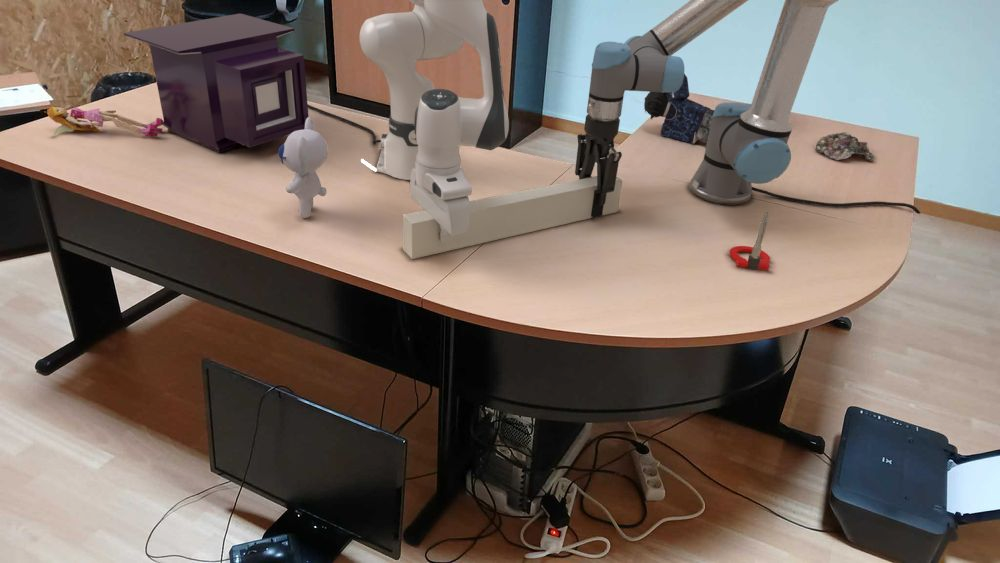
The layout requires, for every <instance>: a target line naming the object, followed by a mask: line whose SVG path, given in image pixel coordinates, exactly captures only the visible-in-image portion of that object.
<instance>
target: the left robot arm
mask: <svg viewBox="0 0 1000 563" xmlns="http://www.w3.org/2000/svg"><path fill="white" fill-rule="evenodd" d="M407 1H408V2H410V3H412V4H414V7H413V10H412V11H404V12H403V11H402V12H391V13H383V14H379V15H376V16H372V17H369V18H367V19H365V20H364V22H363V23H362V25H361V27H360V30H359V35H358V37H359V38H358V39H359V45H360V48H361V51H362V53H363V54H364V56H365V57H366V58H367V59H368V60H369V61H370V62H371V63H373V64H374V65H375V66H377V67H378V68H379V69H380V71H381V72H382V73H383V75H384V76H385V80H386V82H387V85H388V91H389V92H388V93H389V101H390V102H389V103H390V104H389V105H390V115H389V117H388V130H389V131H388V133H382V134H381V137H380V139H377V138H376V134H375V132H374V131H373V130H372V129H370V128H368V127H366V126H365V125H361V124H359V123H357V122H354V121H352V120H349V119H347V118H344V117H342V116H339V115H336V114H334V113H331V112H328V111H325V110H323V109H320V108H318V107H315V106H312V105H310V104H308V109H311V110H314V111H317V112H320V113H321V114H325V115H327V116H329V117H332V118H335V119H338V120H341V121H343V122H346V123H348V124H351V125H353V126H356V127H357V128H360V129H363V130H365V131H367V132H369V133H370V134H371V135H372V144H373V145H376V143H380V148H381V151H380V155H379V157H378V160H377V164H376V167H375V166H373V165H372V164H371V163H369V162H367V161H366V160H364V158H361V159H360V162H361V163H362V164H364V165H365V166H366V167H368V168H369V169H370V170H372V171H374V172H378V173H381V174H384V175H385V174H386V175H388V176H391V177H392V178H396V179H399V180H405V181H410V182H409V194H410V197H411V199H412V200H413V201H414V202H415V203H416V204H417V205H418V206H419V207H420V208H421V209H422V211H423V210H426V211H427V212H428V213H429V214H430V215H431V216H432V217H433V218H434V219H435V221H436V222H437V223H439V224H440V228H441V232H439V233H438V239H439V240H440V241H441V242H442V243H444V242H448V241H449V234H450V235H452V236H454V235H459V234H463V233H465V232H466V231H467V230H468V227H469V218H470V201H471V200H470V199H469V196H471V195H472V192H473V187H472V184H471V183H470V181H469V180H468V178H467V176H466V175H465V172H464V170H463V168H462V166H461V165H462V158H461V154H460V147H471V148H475V149H480V150H485V151H494V150H495V149H496V148H498V147H501V145H502V144H504V143H505V142H506V141H507V138H508V134H509V130H510V122H509V121H510V120H509V114H508V110H507V106H506V101H505V91H504V83H503V82H504V81H503V70H502V62H501V61H502V60H501V59H502V58H501V50H500V42H499V32H498V27H497V22H496V19H495V18H494V16H493V15H492V14H490V13H489V12H488V11H487V10H486V7H485V6H484V5H485V4H484V2H483V0H407ZM464 42H466V43H468V44H469V45H470V46H472V47H473V49H475V51H476V52H477V54H478V57H479V62H480V68H481V77H482V78H481V79H482V88H483V96H482V97H480V98H473V97H471V98H470V97H459V96H458V94H456V93H455V92H454V91H452V90H449V89H446V88H436V87H435V84H434V82H433V81H432V80H431V79H429V78H428V77H427V76H424V75H423V74H420V73H418V72H417V66H416V65H417V62H419V61H420V62H421V61H428V60H429V61H430V60H439V59H443V58H446V57H449V56H451V55H454V54H457V53H459V52H460V51H461V49H462V47H463V44H464Z"/></svg>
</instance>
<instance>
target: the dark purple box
mask: <svg viewBox="0 0 1000 563" xmlns="http://www.w3.org/2000/svg"><path fill="white" fill-rule="evenodd" d="M294 31H295V28H294V27H292V26H287V25H283V24H279V23H276V22H272V21H269V20H264V19H262V18H259V17H256V16H255V17H254V16H252V15H247V14H244V13H235V14H230V15H224V16H217V17H212V18H205V19H200V20H194V21H188V22H181V23H175V24H169V25H163V26H157V27H151V28H146V29H145V28H144V29H139V30H134V31H128V32H123V36H125V37H127V38H130V39H133V40H136V41H138V42H142V43H145V44H148V45H149V50H150V54H151V60H152V66H153V71H154V75H155V76H154V77H155V82H156V87H157V92H158V97H159V102H160V107H161V113H162V118H163V119H162V120H163V125H162V126H163V127H165V128H166V129H167V131H168V132H170V133H172V134H175V135H177V136H179V137H182V138H184V139H187V140H189V141H191V142H193V143H196V144H197V145H200V146H203V147H205V148H207V149H209V150H212V151H215V152H217V153H219V154H220V153H224V152H227V151H229V150H233V149H235V148H237V144H240V145H242V146H245V147H247V148H249V149H250V148H253V147H256V146H259V145H262V144H266V143H269V142H271V141H275V140H278V139H281V138H285V137H288V136H289V135H290V134H291V133H292V132H294V131H298V130H304V129H305V121H306V119H307V118H308V117H310V116H309V107H308V105H309V104H308V94H307V93H308V92H307V80H306V79H307V78H306V68H305V56H304V54H303V53H302V54H301V53H297V52H296V51H295V52H294V51H291V50H288V49H285V48H282V47H279V44H278V40H277V38H280V37H282V36H286V35H287V34H291V33H292V32H294Z"/></svg>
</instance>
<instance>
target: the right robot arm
mask: <svg viewBox="0 0 1000 563" xmlns="http://www.w3.org/2000/svg"><path fill="white" fill-rule="evenodd" d="M748 1H749V0H689V1H688V2H686V3H684V4H683V5H682V6H681V7H680V8H678V9H677V10H676V11H674V12H672V14H670V15H669V16H667V17H666V18H665V19H663V20H662V21H660V22H659V23H658V24H656V25H655V26H654V27H652V28H651V29H650V30H648V31H647V32H646V33H644V34H643V35H634V36H631V37H629V38H627V39H626V41H625V42H624V43H623V42H617V41H602V42H599V43H598V44H597V45H596V46H595V48H594V53H593V58H592V63H591V75H590V83H589V91H588V100H587V106H586V116H585V119H584V120H585V121H584V132H585V133H580V134H577V151H576V161H575V169H574V174H575V176H578V180H580V179H585V178H590V177H593V176H592V174H593V171H594V169H595V164H596V176H597V190H595V191H594V198H593V205H592V212H591V217H594V218H598V217H602V216H603V215H602V213H603V206H604V204H605V201H606V194H607V193H609V192H613V191H614V188H615V182H616V177H618V176H617V175H618V168H619V163H620V161H621V158H622V157H623V156H622V155H623V153H622V152H621V151H617V150H616V149H615V140H614V139H615V138H616V137H617V136H618V134H619V128H620V122H621V120H620V117H621V116H622V110H623V104H624V98H625V92H626V91H629V92H646V93H647V92H648V93H649V92H662V93H664V92H676V91H678V90H679V89H680V87H681V85H682V83H683V79H684V73H685V63H684V60H683V58H682V57H680V56H676V55H674V54H675V53H677V52H679V51H680V50H681V49H683V48H684V47H685V46H687V45H689V43H691V42H692V41H694V40H695V39H697V38H698V37H700V35H702V34H704V33H705V32H706V31H707V30H709V29H711V28H712V27H714V26H715V25H716V24H717V23H719V22H720V21H722V20H723V19H725V18H726V17H727V16H729V15H730V14H732V13H733V12H734V11H735V10H737V9H738V8H740V7H741V6H742V5H744V4H746V3H747V2H748ZM839 1H840V0H784V3H783V6H782V8H781V12H780V15H779V18H778V21H777V24H776V27H775V30H774V34H773V36H772V40H771V42H770V45H769V48H768V51H767V55H766V58H765V61H764V64H763V67H762V70H761V73H760V76H759V79H758V82H757V85H756V89H755V91H754V95H753V97H752V101H751V103H746V102H737V101H736V102H733V101H730V102H728V101H727V102H720V103H719V104H717V105H716V106H715V107H714V109H713V110H714V113H713V116H712V122H711V126H710V131H709V136H708V140H707V142H706V145H705V150H704V154H703V159H702V161H701V163H700V165H699V166H698V168H697V169H696V171H695V173H694V174H693V176H692V178H691V180H690V184H689V189H690V191H691V193H693V194H694V196H696V197H698V198H700V199H702V200H704V201H707V202H710V203H713V204H717V205H726V206H727V205H729V206H734V205H742V204H745V203H747V202H749V201H750V199H751V197H752V193H753V192H757V193H760V194H764V195H767V196H770V197H773V198H777V199H781V200H786V201H791V202H797V203H802V204H807V205H808V204H809V205H815V206H822V207H823V206H824V207H836V208H845V207H846V208H847V207H858V206H877V205H878V206H892V207H904V208H909V209H911V210H913V211H914V212H915V213H916V214H919V215H921V211H920V209H918V208H917V207H916V206H914V205H912V204H911V203H905V202H892V201H861V202H860V201H859V202H844V203H838V202H837V203H836V202H835V203H834V202H823V201H815V200H809V199H803V198H797V197H791V196H786V195H781V194H778V193H773V192H770V191H768V190H764V189H761V188H757V187H754V186H752V184H755V185H762V184H767V183H771V182H772V181H773V180H775V179H777V178H779V177H781V176H782V175H783V174H784V173H785V172H786V170H788V167H789V165H790V163H791V159H792V153H791V149H790V147H789V144H788V142H789V139H790V136H791V134H792V130H793V125H792V122H791V121H790V115H791V112H792V110H793V107H794V103H795V101H796V99H797V95H798V92H799V90H800V87H801V84H802V82H803V79H804V76H805V73H806V70H807V68H808V64H809V62H810V59H811V57H812V53H813V51H814V47H815V45H816V42H817V39H818V36H819V34H820V31H821V28H822V25H823V23H824V20H825V17H826V15H827V11H828V9H829V8H830V6H833V5H834V4H835V3H837V2H839Z"/></svg>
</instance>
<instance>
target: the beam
mask: <svg viewBox="0 0 1000 563" xmlns="http://www.w3.org/2000/svg"><path fill="white" fill-rule="evenodd" d="M623 181H624V180H622V179H621V178H620V177H618V176H616V182H615V188H614V191H613V192H609V193H607V194H606V201H605V204H604V206H603V213H602V216H606V215H610V214H614V213H618V212H619V205H620V199H621V194H622V187H623ZM595 190H597V175H596V176H592V177H590V178H585V179H580V180H579V179H576V180H575V179H574V180H570V181H565V182H564V181H563V182H559V183H555V184H549V185H545V186H540V187H535V188H530V189H525V190H519V191H515V192H510V193H505V194H499V195H494V196H488V197H484V198H480V199H473V200H469V201H470V218H469V227H468V230H467V231H466V232H465V233H463V234H459V235H454V236H452V235H450V234H449V241H448V242H444V243H442V242H441V241H440V240H439V239H438V233H439V232H441V228H440V224H439V223H437V222H436V221H435V219H434V218H433V217H432V216H431V215H430V214H429V213H428V212H427V211H426V210H423V209H422V210H419V211H413V212H408V213H404V214H403V213H402V249H403V251H404V253H406V255H407V256H408V257H409V258H410V259H411V260H415V259H420V258H424V257H428V256H432V255H436V254H441V253H445V252H450V251H454V250H459V249H463V248H467V247H472V246H475V245H480V244H484V243H489V242H493V241H497V240H502V239H506V238H511V237H515V236H520V235H523V234H528V233H532V232H536V231H540V230H546V229H550V228H554V227H558V226H562V225H566V224H571V223H576V222H580V221H585V220H588V219H594V218H595V217H591V212H592V205H593V198H594V191H595Z"/></svg>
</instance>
